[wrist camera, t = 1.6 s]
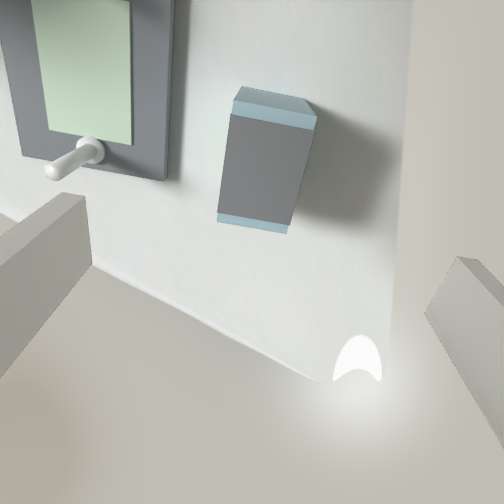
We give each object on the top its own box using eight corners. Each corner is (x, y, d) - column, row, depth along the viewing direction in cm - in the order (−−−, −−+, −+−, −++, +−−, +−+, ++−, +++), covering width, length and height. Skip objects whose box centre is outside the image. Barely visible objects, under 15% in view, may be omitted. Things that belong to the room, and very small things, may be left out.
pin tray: (30, 151, 29) (-31, 179, 23) (-9, -79, 21) (-119, -128, 15) (166, 176, 30) (141, 210, 24) (176, -37, 22) (142, -69, 16)
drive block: (227, 182, 30) (215, 222, 23) (241, 85, 26) (232, 100, 19) (282, 192, 31) (287, 235, 24) (304, 98, 26) (318, 117, 19)
